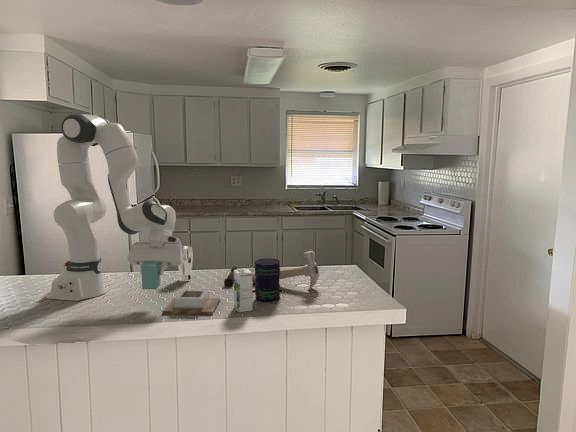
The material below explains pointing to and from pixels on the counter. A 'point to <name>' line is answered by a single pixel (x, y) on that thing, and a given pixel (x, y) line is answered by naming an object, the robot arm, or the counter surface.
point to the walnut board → (208, 309)
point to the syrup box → (242, 290)
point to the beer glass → (186, 264)
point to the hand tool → (230, 278)
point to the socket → (192, 299)
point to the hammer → (300, 270)
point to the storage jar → (267, 280)
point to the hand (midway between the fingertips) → (151, 274)
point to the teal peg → (150, 275)
